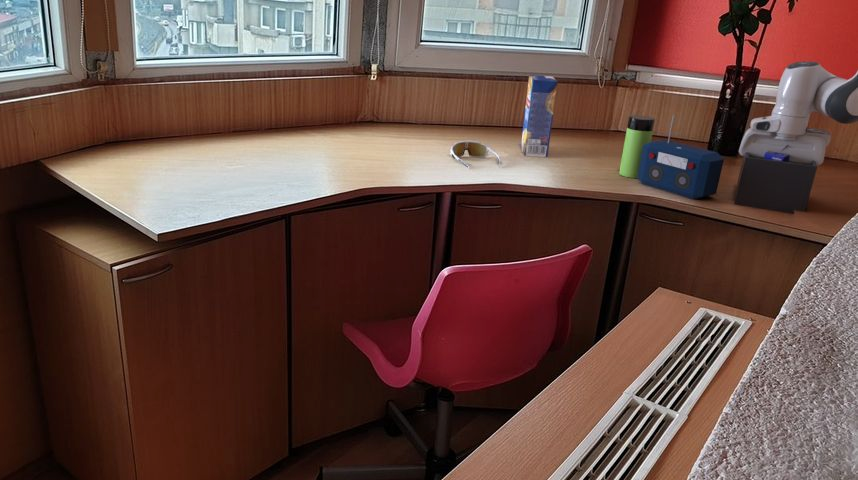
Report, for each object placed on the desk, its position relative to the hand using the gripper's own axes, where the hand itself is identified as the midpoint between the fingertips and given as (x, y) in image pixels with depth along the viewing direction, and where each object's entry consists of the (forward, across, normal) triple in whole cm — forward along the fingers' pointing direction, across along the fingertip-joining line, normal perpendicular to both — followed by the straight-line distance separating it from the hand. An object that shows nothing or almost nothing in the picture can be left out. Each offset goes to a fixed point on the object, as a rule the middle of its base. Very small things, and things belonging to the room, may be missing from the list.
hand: (774, 176), depth 193 cm
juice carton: (+7, +70, -17) cm, 72 cm away
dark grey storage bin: (+7, 0, 0) cm, 7 cm away
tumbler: (+7, +37, -6) cm, 38 cm away
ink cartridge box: (+6, 0, 0) cm, 6 cm away
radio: (+7, +24, +4) cm, 25 cm away
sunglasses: (+7, +82, +8) cm, 83 cm away
